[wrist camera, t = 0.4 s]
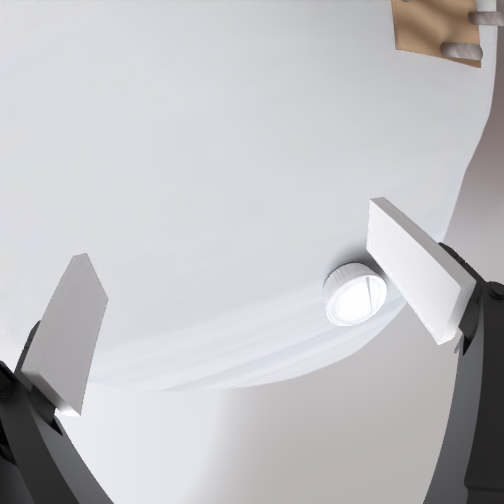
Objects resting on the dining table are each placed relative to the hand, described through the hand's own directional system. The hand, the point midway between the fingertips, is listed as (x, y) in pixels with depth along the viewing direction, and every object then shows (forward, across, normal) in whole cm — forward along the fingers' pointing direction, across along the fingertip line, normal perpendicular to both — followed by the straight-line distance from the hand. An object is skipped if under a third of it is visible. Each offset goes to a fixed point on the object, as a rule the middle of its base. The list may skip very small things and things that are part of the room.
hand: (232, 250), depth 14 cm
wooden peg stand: (+27, +36, +19) cm, 49 cm away
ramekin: (+28, +18, -28) cm, 44 cm away
